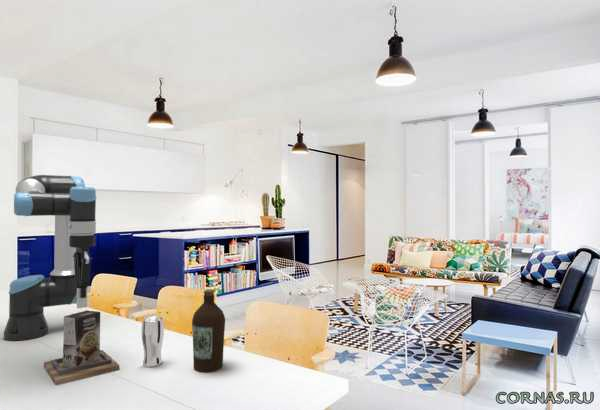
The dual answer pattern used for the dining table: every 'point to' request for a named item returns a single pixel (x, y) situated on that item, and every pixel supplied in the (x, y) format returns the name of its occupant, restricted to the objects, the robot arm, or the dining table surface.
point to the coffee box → (81, 339)
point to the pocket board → (79, 369)
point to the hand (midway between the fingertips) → (81, 307)
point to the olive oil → (208, 335)
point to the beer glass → (152, 340)
